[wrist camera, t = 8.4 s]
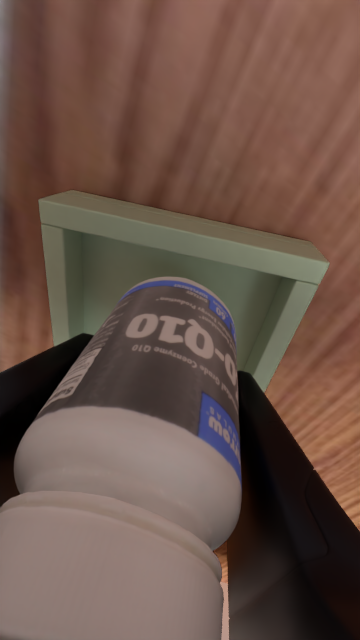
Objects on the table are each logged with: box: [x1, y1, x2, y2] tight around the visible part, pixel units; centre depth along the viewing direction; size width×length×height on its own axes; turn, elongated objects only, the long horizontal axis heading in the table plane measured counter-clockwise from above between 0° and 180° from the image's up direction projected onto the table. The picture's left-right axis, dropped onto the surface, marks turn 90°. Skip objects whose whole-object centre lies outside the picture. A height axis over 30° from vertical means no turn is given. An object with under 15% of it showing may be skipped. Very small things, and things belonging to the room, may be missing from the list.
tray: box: [38, 190, 330, 392], centre depth 17 cm, size 27×10×2 cm, turn 170°
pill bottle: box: [0, 277, 242, 640], centre depth 7 cm, size 5×5×8 cm
